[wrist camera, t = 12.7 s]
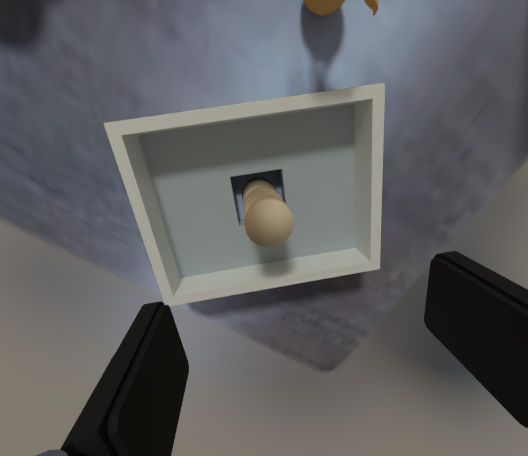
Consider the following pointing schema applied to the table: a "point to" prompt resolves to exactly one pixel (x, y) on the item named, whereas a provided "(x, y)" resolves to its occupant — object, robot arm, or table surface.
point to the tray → (247, 162)
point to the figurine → (333, 6)
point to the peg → (265, 214)
